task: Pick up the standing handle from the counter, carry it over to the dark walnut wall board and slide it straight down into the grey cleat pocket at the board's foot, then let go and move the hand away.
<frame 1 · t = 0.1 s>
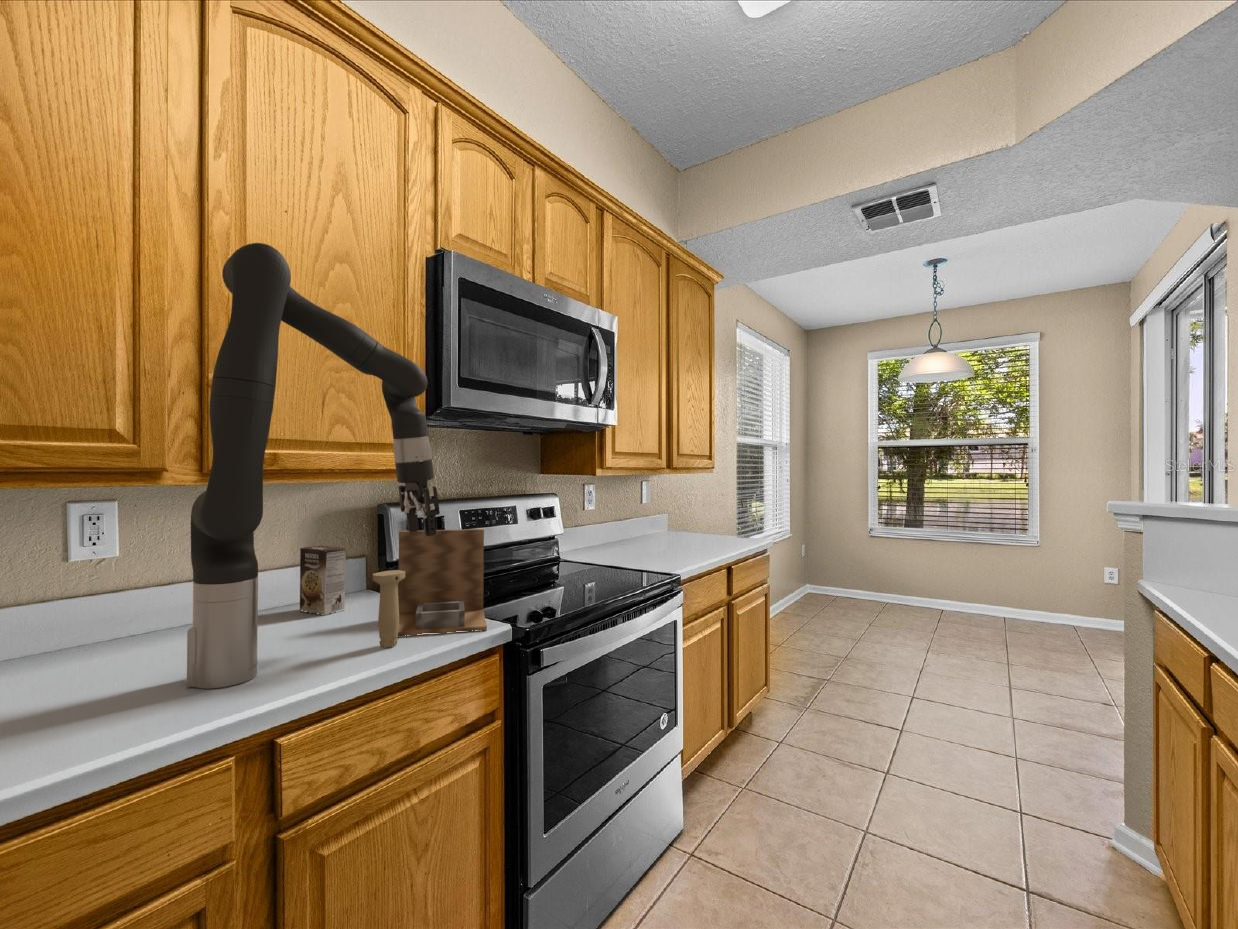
hand: (422, 533, 123), 22 cm above the counter, tool pointing down, fingers open, 8 cm apart
handle: (388, 647, 117), on the counter
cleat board: (440, 626, 131), on the counter
coffee box: (322, 612, 144), on the counter
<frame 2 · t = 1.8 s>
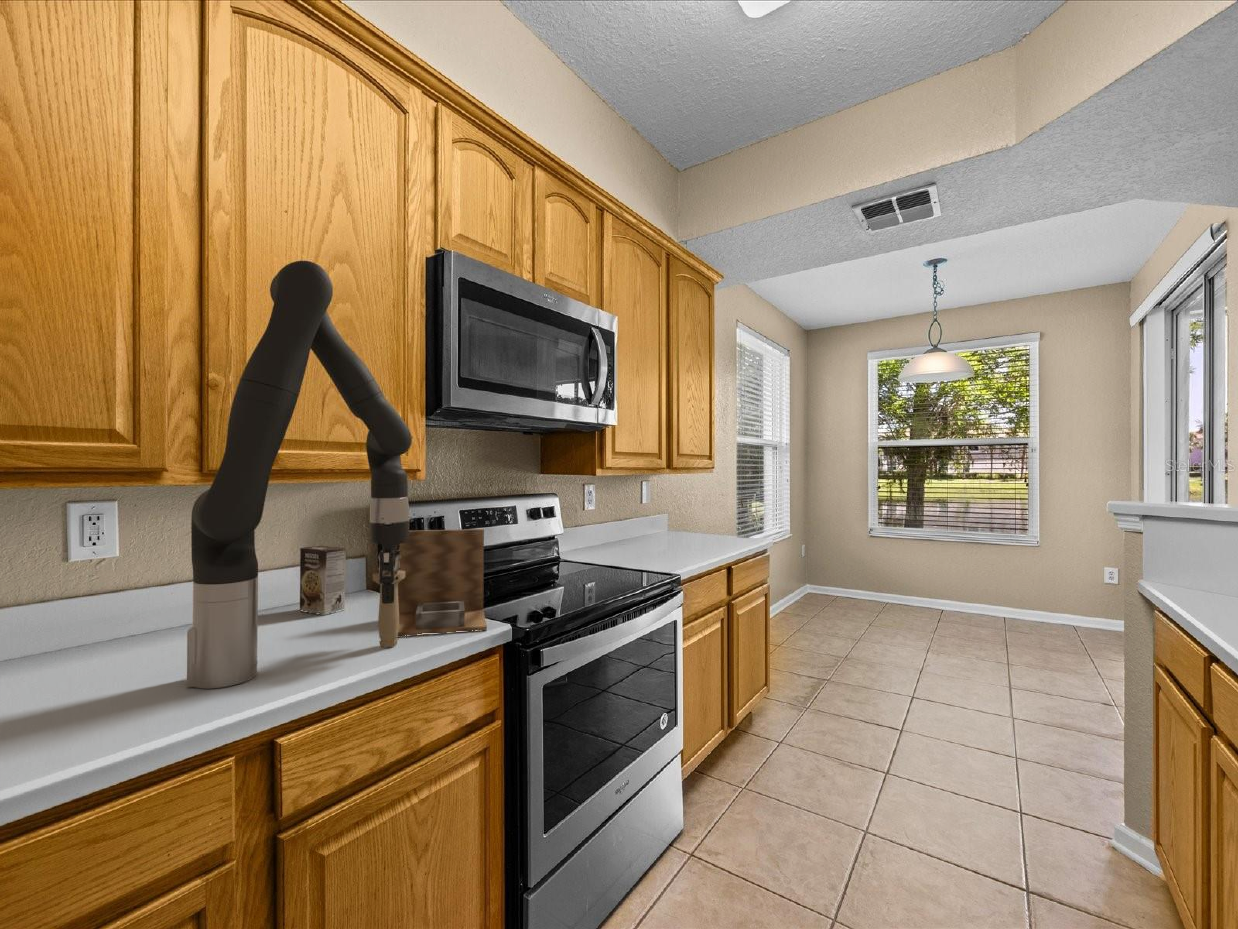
hand: (390, 598, 117), 10 cm above the counter, tool pointing down, fingers open, 8 cm apart
nothing on the counter moved.
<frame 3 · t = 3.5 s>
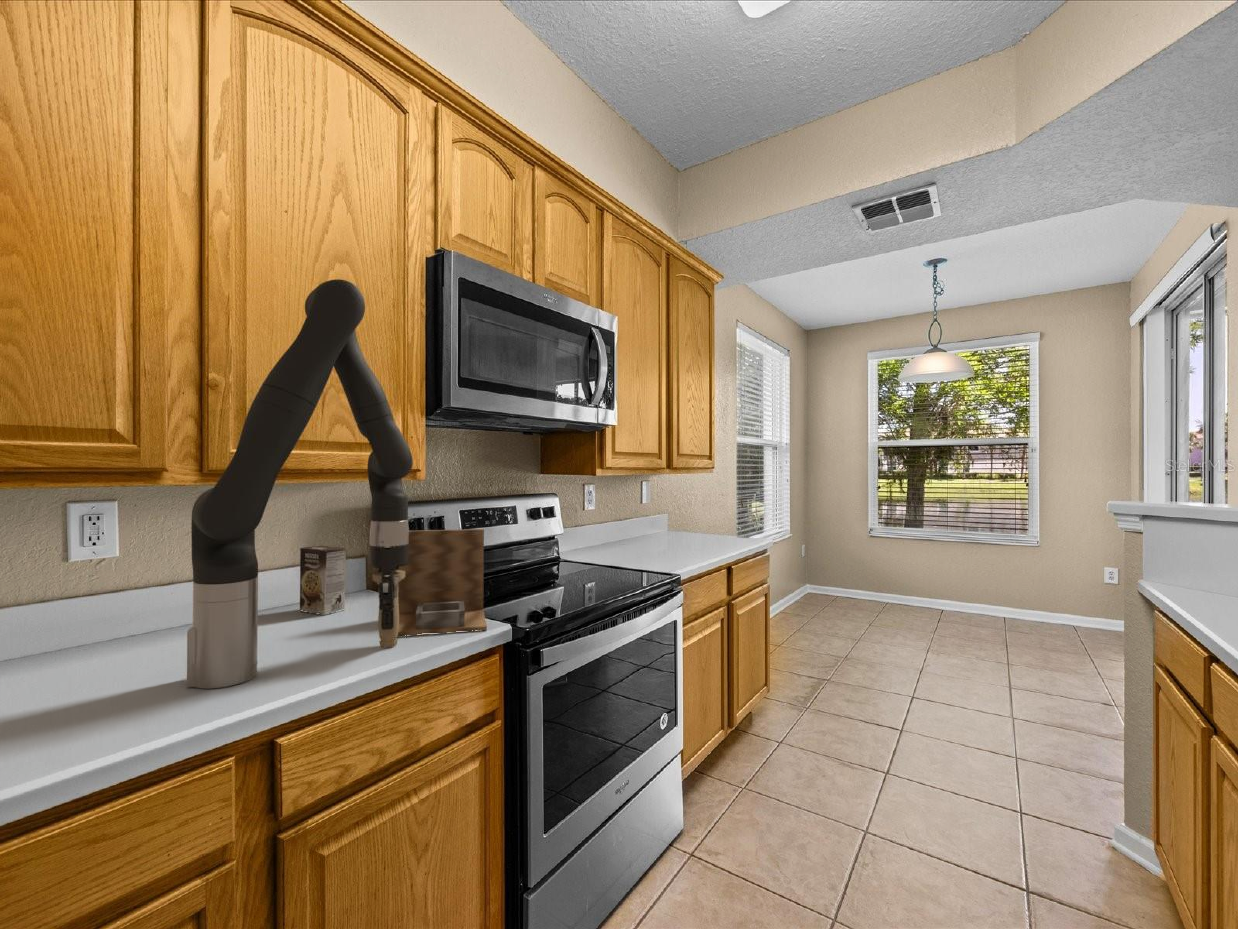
hand: (388, 625, 117), 4 cm above the counter, tool pointing down, fingers closed on handle, 4 cm apart
handle: (388, 647, 117), on the counter, touching gripper
everything else where it was.
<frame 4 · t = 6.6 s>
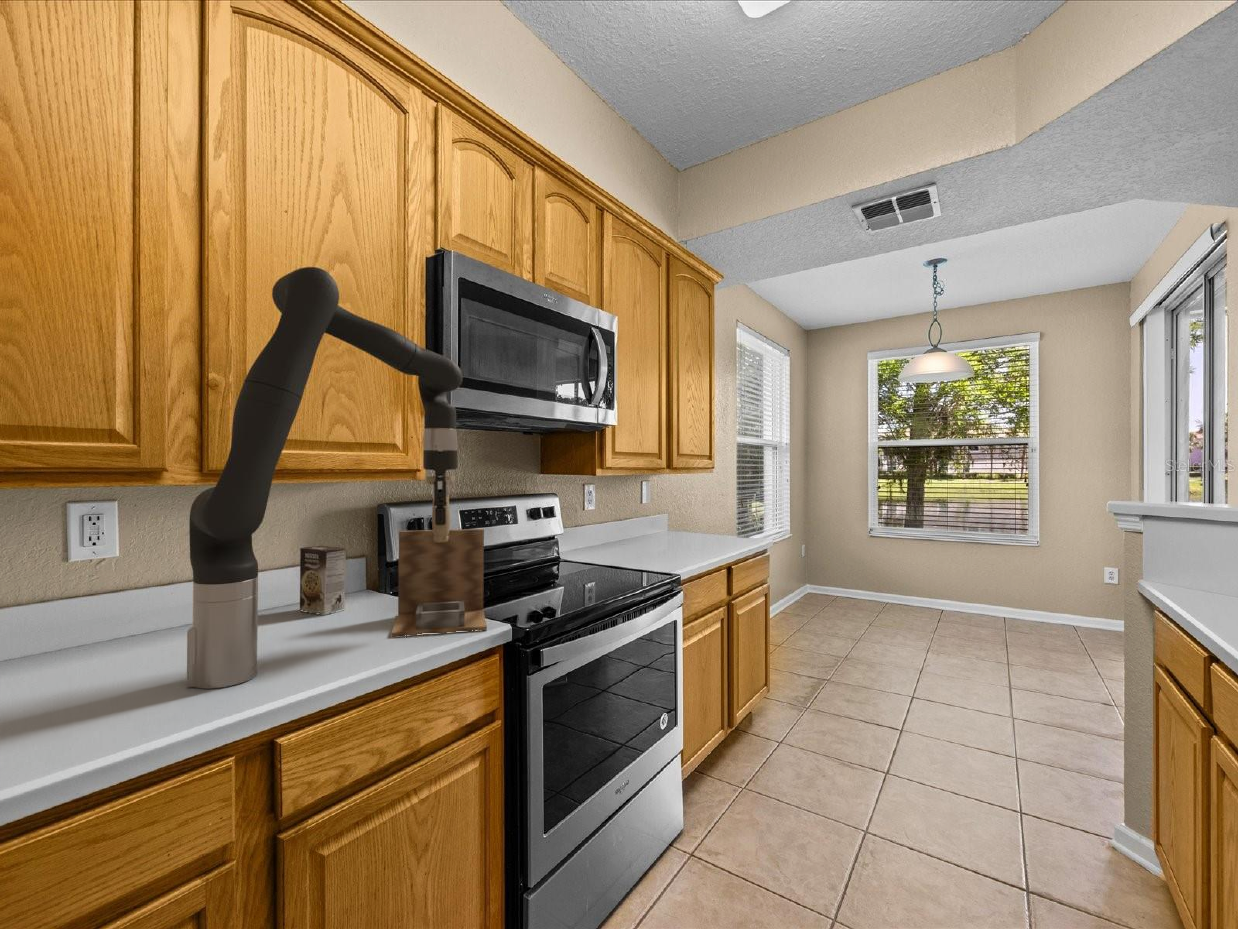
hand: (440, 523, 130), 24 cm above the counter, tool pointing down, fingers closed on handle, 4 cm apart
handle: (441, 542, 130), point 19 cm above the counter, touching gripper
everything else where it was.
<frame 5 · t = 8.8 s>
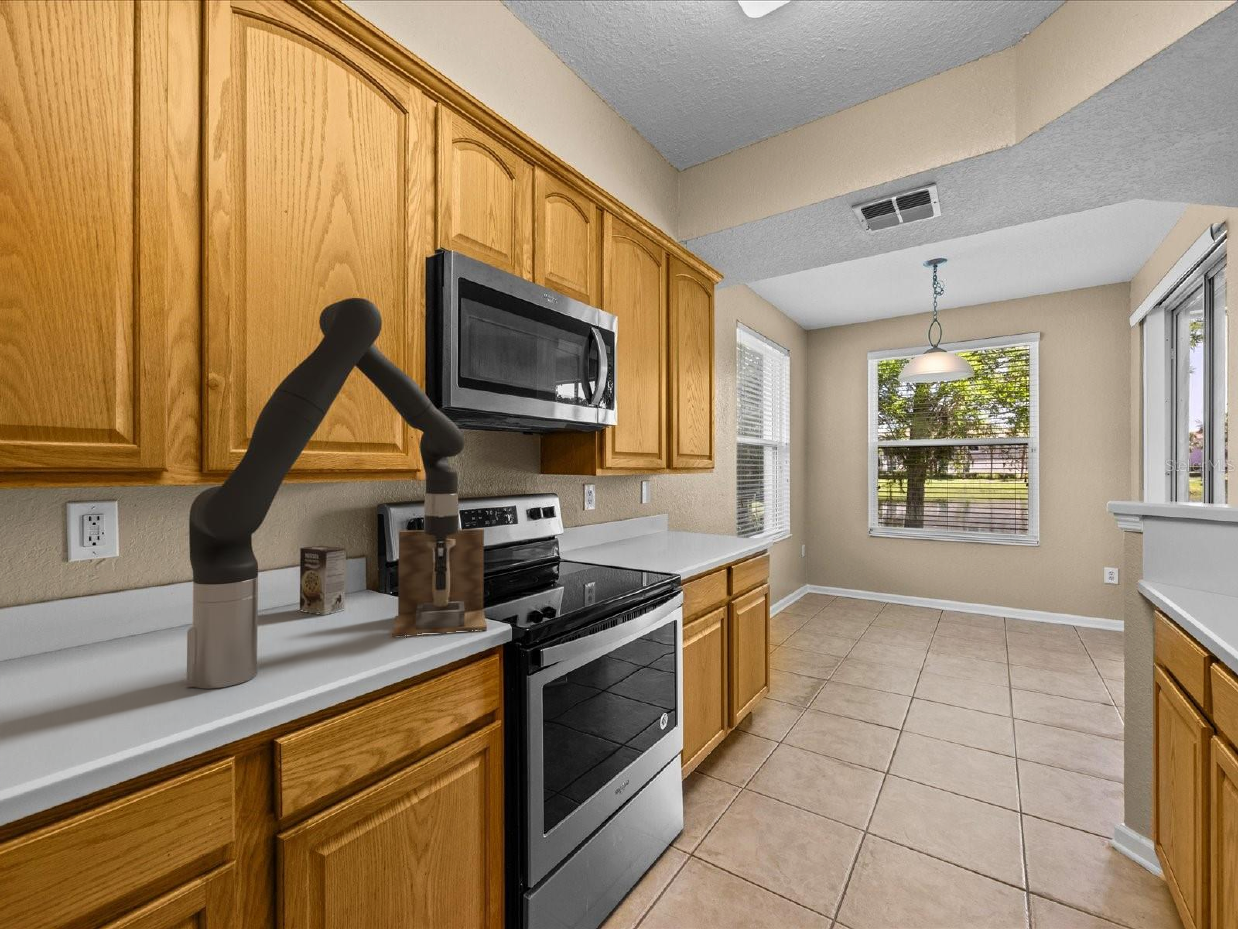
hand: (440, 587, 131), 9 cm above the counter, tool pointing down, fingers closed on handle, 4 cm apart
handle: (441, 606, 131), point 5 cm above the counter, touching gripper
everything else where it was.
when the fingers open (6 cm above the counter, at t = 10.1 s): handle stays where it is, resting on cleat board.
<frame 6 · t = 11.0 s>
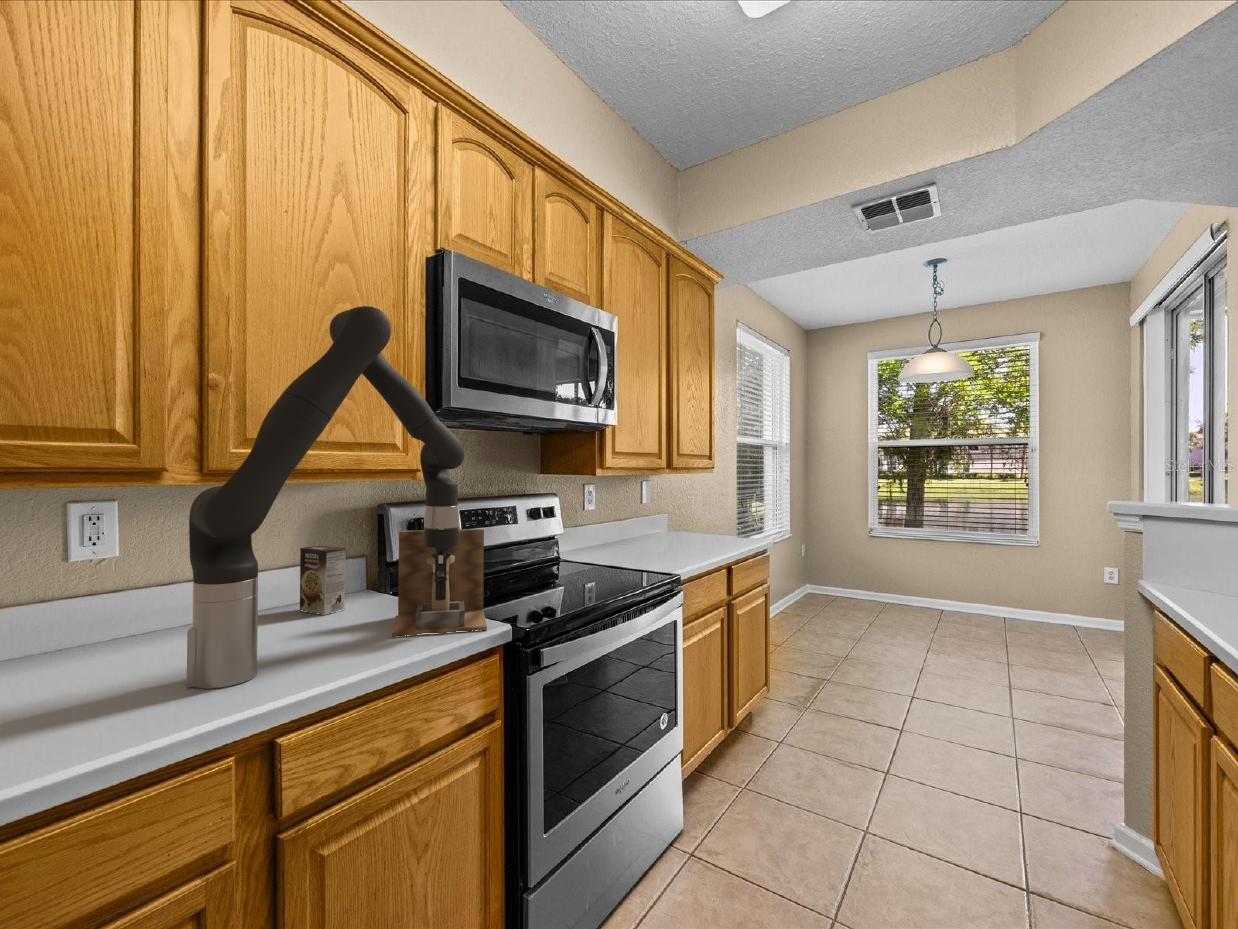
hand: (441, 595, 131), 7 cm above the counter, tool pointing down, fingers open, 8 cm apart
handle: (440, 623, 131), point 1 cm above the counter, touching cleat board
everything else where it was.
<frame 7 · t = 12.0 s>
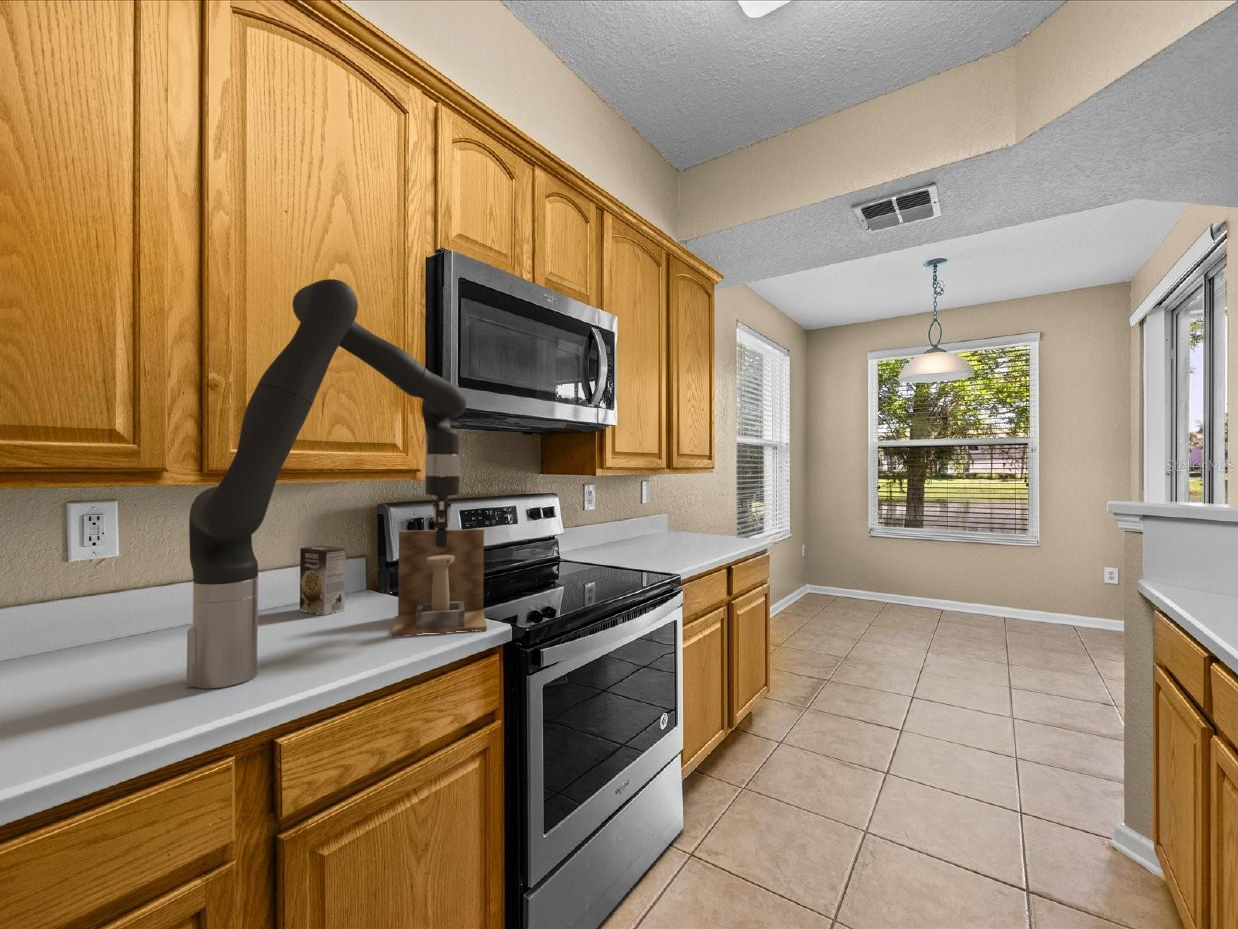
hand: (441, 544, 131), 19 cm above the counter, tool pointing down, fingers open, 8 cm apart
nothing on the counter moved.
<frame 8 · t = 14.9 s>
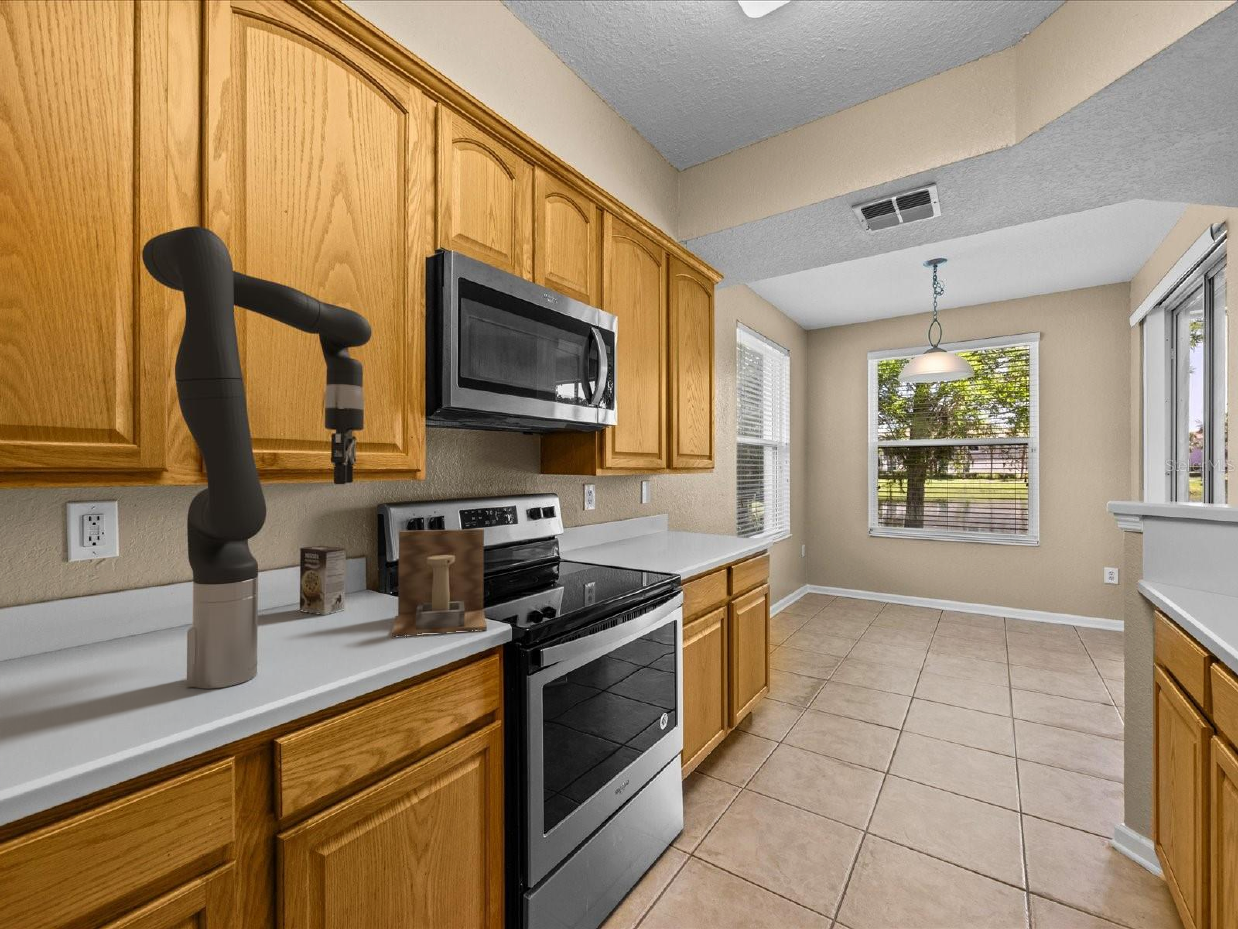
hand: (343, 483, 121), 33 cm above the counter, tool pointing down, fingers open, 8 cm apart
nothing on the counter moved.
at the end: handle 0.0 cm off-centre on the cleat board, point 0.8 cm above the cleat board's base; handle tilted 0°; the gripper is holding nothing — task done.
